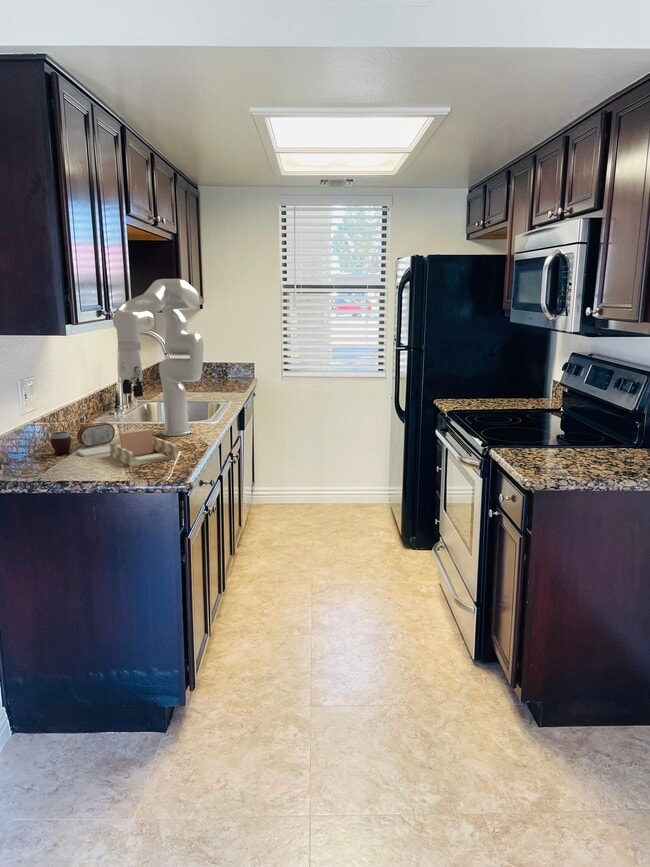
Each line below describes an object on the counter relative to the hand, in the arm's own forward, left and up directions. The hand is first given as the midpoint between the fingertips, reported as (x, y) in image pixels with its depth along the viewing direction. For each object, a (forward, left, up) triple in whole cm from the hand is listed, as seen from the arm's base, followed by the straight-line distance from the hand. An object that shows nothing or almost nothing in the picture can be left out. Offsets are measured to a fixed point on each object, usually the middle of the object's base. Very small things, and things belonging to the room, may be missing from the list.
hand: (132, 395), depth 221 cm
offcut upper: (+11, 0, -22) cm, 24 cm away
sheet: (0, 0, -22) cm, 22 cm away
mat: (-13, -5, -22) cm, 26 cm away
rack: (+5, 0, -22) cm, 23 cm away
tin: (-27, -5, -22) cm, 35 cm away
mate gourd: (-20, -21, -22) cm, 37 cm away
